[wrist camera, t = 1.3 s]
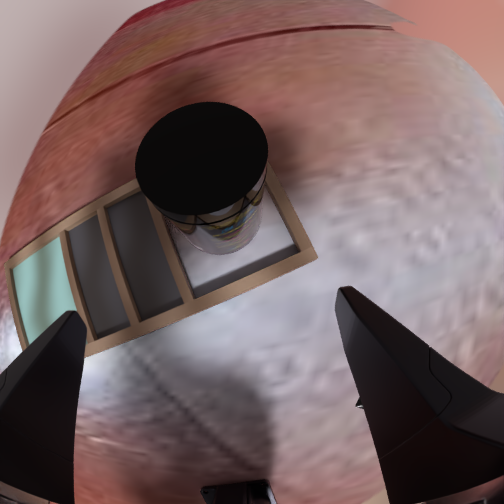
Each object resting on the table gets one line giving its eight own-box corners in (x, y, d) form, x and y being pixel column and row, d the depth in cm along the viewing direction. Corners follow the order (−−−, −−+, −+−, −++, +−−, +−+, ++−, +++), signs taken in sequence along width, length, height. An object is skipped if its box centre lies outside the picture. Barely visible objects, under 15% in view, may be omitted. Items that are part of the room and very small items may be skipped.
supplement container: (277, 207, 23) (294, 136, 12) (230, 273, 22) (210, 245, 11) (214, 168, 23) (192, 87, 13) (167, 227, 22) (110, 173, 12)
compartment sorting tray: (250, 135, 24) (250, 129, 23) (315, 259, 22) (318, 257, 21) (9, 265, 22) (4, 263, 21) (36, 374, 19) (31, 376, 18)
